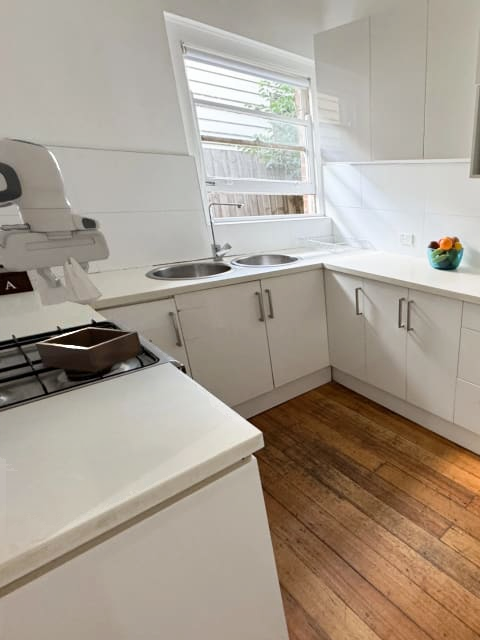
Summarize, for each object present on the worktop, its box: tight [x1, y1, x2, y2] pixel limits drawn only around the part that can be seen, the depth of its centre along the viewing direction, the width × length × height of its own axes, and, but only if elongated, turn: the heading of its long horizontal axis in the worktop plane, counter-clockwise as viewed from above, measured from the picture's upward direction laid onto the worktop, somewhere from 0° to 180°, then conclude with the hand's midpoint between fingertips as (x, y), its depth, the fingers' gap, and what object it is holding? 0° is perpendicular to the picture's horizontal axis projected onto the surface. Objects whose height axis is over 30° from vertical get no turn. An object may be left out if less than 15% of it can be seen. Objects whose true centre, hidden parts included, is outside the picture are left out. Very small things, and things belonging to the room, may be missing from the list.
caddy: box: [34, 326, 144, 373], centre depth 94 cm, size 13×16×6 cm
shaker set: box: [34, 257, 103, 307], centre depth 88 cm, size 12×4×11 cm, turn 91°
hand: (69, 284), depth 88 cm, fingers closed on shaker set, 4 cm apart
